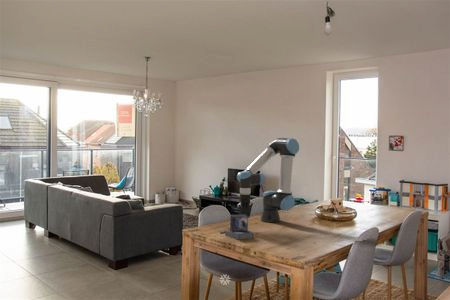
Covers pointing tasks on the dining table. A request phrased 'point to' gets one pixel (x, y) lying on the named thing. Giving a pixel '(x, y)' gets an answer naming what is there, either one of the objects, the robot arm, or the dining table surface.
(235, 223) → the small box
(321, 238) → the dining table surface
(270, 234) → the dining table surface
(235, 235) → the tray
